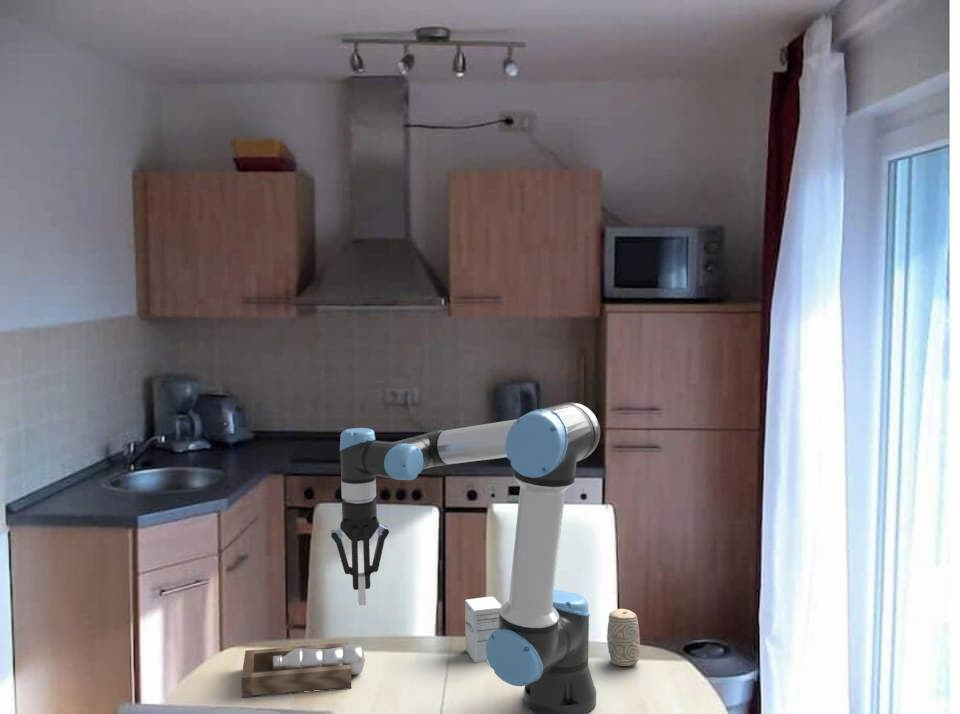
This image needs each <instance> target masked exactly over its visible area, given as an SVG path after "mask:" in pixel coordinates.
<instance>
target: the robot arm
mask: <svg viewBox="0 0 960 714" xmlns="http://www.w3.org/2000/svg"><path fill="white" fill-rule="evenodd" d="M600 437H601V426H600V423H599V421H598V418H597V417H596V415H595V414H594V413H593V411H592V410H591V409H590V408H589V407H587V406H585V405H583V404H582V403H577V402H563V403H560V404H557V405H554V406H553V405H552V406H549V407H545V408H539V409H534V410H531V411H529V412H528V413H526V414H523V415H522V416H520V417H519V418H517V419H512V420H511V419H510V420H503V421H498V422H491V423H485V424H484V423H483V424H478V425H472V426H466V427H465V426H464V427H459V428H452V429H445V430H433V431H429V432H426V433H424V434H420V435H416V436H412V437H407V438H404V439H401V440H396V441H393V442H392V441H383V440H382V441H381V440H376V435H375V431H374V430H373V429H371V428H367V427H354V428H353V427H352V428H347V429H344V430H343V431H342V432H341V433H340V441H339V443H340V444H339V453H340V454H339V456H340V471H341V473H340V474H341V479H340V480H341V481H340V482H341V483H340V484H341V485H340V486H341V499H342V501H341V515H342V516H341V517H342V519H341V522H340V525H339V527H337V528H336V529H333V530H331V531H330V535H331V536H330V537H331V538H332V540H333V541H334V542H335V545H336V547H337V551H338V554H339V557H340V561H341V565H342V568H343V572H344V574H346V575H350V576H352V588H353V590H354V591H355V590H356V591H357V596H358V597H357V599H358V600H357V601H358V606H366V605H367V604H366V603H367V600H366V594H367V593H366V590H368V589H370V588H371V574H372V573H377V572H378V571H379V568H380V562H381V560H382V559H381V558H382V554H383V550H384V545H385V540H386V539H387V538H388V535H389V534H390V530H389V527H388V526H383V525H382V524H380V521H379V519H378V517H377V499H376V497H377V486H376V485H377V482H376V480H377V477H380V478H381V477H382V478H388V479H393V480H397V481H412V480H415V479H416V478H417V477H418V476H419V474H421V473H422V471H423V470H425V469H430V468H434V467H440V466H441V467H442V466H448V465H454V464H461V463H468V462H469V463H470V462H476V461H486V460H495V459H503V458H507V459H508V460H509V462H510V466H511V468H512V469H513V478H514V479H515V481H516V482H517V483H518V484H519V496H518V506H517V516H516V523H515V525H516V526H515V535H514V536H515V537H514V544H513V554H512V555H513V556H512V563H511V564H512V565H511V575H510V583H509V593H508V600H507V601H506V602H504V603H503V604H501V605H502V606H501V608H500V614H499V623H498V629H497V630H495V631H494V632H493V633H491V635H490V636H489V638H488V640H487V642H486V649H485V650H486V657H487V660H488V661H487V662H488V665H489V667H490V668H491V669H492V670H493V671H494V674H495V675H496V676H497V677H498V678H500V680H501V681H503V682H504V683H506V684H508V685H511V686H515V687H524V689H523V703H524V704H525V706H526V707H527V708H528V709H530V711H533V712H535V713H536V714H538V713H540V714H588V713H589V711H590V712H591V711H593V710H594V709H595V707H596V705H597V691H596V687H595V684H594V680H593V676H592V674H591V671H590V667H589V641H590V640H589V639H590V638H589V637H590V636H589V634H590V633H589V627H590V613H589V602H588V600H587V599H586V598H585V597H584V596H582V595H581V594H578V593H576V592H571V591H567V590H561V589H560V590H557V589H555V585H556V577H557V569H558V559H559V549H560V543H561V541H560V539H561V532H562V522H563V514H564V505H565V496H566V491H567V490H568V489H569V488H571V487H572V486H573V485H574V484H575V480H576V479H575V478H576V470H577V462H580V461H582V460H585V459H586V458H588V457H589V456H590V455H591V454H592V453H593V452H594V451H595V449H596V448H597V446H598V444H599V442H600ZM376 532H377V535H378V537H377V539H376V546H375V551H374V553H373V554H374V555H373V559H372V562H371V558H370V557H371V556H370V540H371V538H373V536H374V534H375V533H376ZM343 534H344V535H345V536H346V537H347V538H348V539H349V540H350V541H351V566H350V564H349V561H348V558H347V555H346V550H345V548H344V545H343V544H344V543H343V540H342V538H343ZM361 541H362V547H363V548H362V550H363V551H362V553H363V554H362V555H363V572H359V550H358V547H359V546H358V545H359V544H358V542H361ZM371 563H372V564H371Z"/></svg>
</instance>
